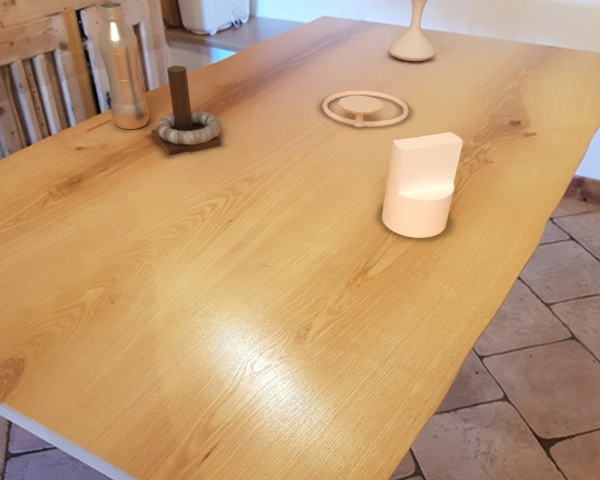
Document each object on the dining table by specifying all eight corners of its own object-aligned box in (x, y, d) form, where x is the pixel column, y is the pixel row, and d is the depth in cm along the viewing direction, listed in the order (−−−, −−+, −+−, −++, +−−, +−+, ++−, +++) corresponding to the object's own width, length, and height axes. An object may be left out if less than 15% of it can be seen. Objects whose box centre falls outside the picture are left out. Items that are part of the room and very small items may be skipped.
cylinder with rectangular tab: (425, 200, 82) (440, 123, 74) (458, 232, 75) (478, 151, 68) (370, 210, 79) (380, 131, 72) (400, 244, 73) (414, 161, 65)
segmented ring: (170, 151, 89) (168, 139, 88) (149, 127, 96) (147, 115, 95) (231, 139, 93) (230, 126, 92) (207, 116, 100) (206, 104, 99)
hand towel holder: (415, 79, 110) (405, 118, 95) (412, 100, 113) (401, 142, 97) (332, 70, 113) (309, 106, 97) (331, 91, 115) (309, 129, 100)
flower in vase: (377, 56, 134) (390, -65, 118) (407, 47, 140) (423, -70, 124) (420, 70, 127) (440, -57, 111) (449, 60, 133) (472, -62, 117)
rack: (170, 158, 91) (158, 81, 82) (152, 138, 96) (140, 64, 88) (220, 147, 94) (214, 72, 86) (200, 128, 100) (192, 56, 92)
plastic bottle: (139, 116, 104) (118, -2, 91) (158, 127, 100) (139, 6, 87) (107, 125, 100) (81, 3, 87) (126, 137, 97) (101, 12, 84)
